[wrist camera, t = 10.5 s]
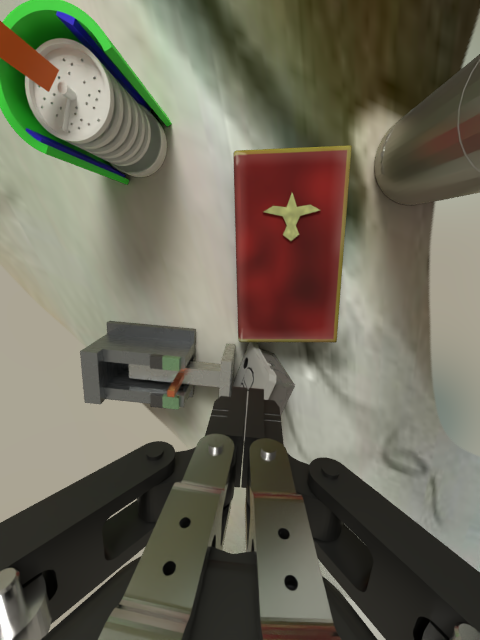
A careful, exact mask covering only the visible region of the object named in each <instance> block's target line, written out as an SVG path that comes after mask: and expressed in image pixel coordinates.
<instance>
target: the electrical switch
mask: <svg viewBox="0 0 480 640" xmlns="http://www.w3.org/2000/svg"><path fill="white" fill-rule="evenodd" d="M270 361H271V362H270ZM272 365H273V366H272ZM291 384H293V385H291ZM233 386H234V387H246V388H248V390H247V405H248V393H249V388H259V389H264V400H274V401H275V402H276V403H277V404H278V406H279V407H280V416H281V414H282V412H283V410H284V408H285V405H286V403H287V401H288V399H289V397H290V395H291V393H292V391H293V389H294V387H295V386H294V383H293V382H292V380H291V379H290V377H289V375H288V374H287V372H286V371H285V369H284V368H283V366H282V365H281V363H280V362H279V360H278V359H277V357H276V356H275V354H274V353H270V352H267V351H264V350H261V349H259V345H258V343H257V342H250V343H249V345H248V347H247V350H246V352H245V355H244V357H243V360H242V362H241V365H240V367H239V370H238V372H237V375H236V377H235V380H234V382H233V384H232V387H233ZM231 393H232V391H231ZM287 393H288V394H287ZM247 405H246V417H247ZM245 429H246V419H245ZM244 442H245V432H244Z"/></svg>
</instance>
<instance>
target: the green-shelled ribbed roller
mask: <svg viewBox="0 0 480 640" xmlns="http://www.w3.org/2000/svg"><path fill="white" fill-rule="evenodd" d="M0 108H1V110H2V112H3V114H4V116H5V118H6V119H7V121H8V122H9V124H10V125H11V127H12V128H13V129H14V130H15V131H16V133H17V134H18V135H19V136H20V137H21V138H22V139H23V140H24V141H26V142H27V143H28V144H29V145H31V146H32V147H34V148H35V149H37V150H39V151H41V152H43V153H45V154H47V155H50V156H53V157H55V158H58V159H61V160H63V161H66V162H69V163H71V164H74V165H76V166H79V167H82V168H84V169H87V170H90V171H92V172H95V173H98V174H100V175H103V176H106V177H108V178H111V179H113V180H116V181H119V182H121V183H124V184H127V185H128V183H129V180H128V179H126V178H125V176H126V175H124V174H123V173H121V172H120V171H122V172H124V173H126V174H128V175H131V176H134V177H146V176H149V175H151V174H153V173H155V172H156V171H157V170H158V169H159V168H160V167H161V165H162V164H163V162H164V160H165V157H166V152H167V140H166V136H165V133H164V130H163V128H162V126H161V125H160V123H159V122H158V121H157V119H156V118H155V117H154V116H153V115H152V114H151V112H150V110H151V109H153V110H154V112H155V113H156V114H157V115H158V116H159V118H160V119H161V120H162V121H163V122H164V124H165V125H166V126H167V127H168V126H169V125H171V122H170V120H169V118H168V117H167V115H166V114H165V113H164V111H163V110H162V109H161V107H160V106H159V105H158V103H157V102H156V101H155V99H154V98H153V97H152V96H151V94H150V93H149V92H148V90H147V89H146V88H145V86H144V85H143V84H142V82H141V81H140V80H139V78H138V77H137V76H136V74H135V73H134V72H133V70H132V69H131V68H130V66H129V65H128V64H127V62H126V61H125V60H124V59H123V57H122V56H121V55H120V53H119V52H118V51H117V49H116V48H115V47H114V45H113V44H112V43H111V41H110V40H109V39H108V37H107V36H106V35H105V33H104V32H103V31H102V29H101V28H100V27H99V26H98V24H97V23H96V22H95V21H94V20H93V19H92V18H91V17H90V16H89V15H87V14H86V13H85V12H84V11H82V10H81V9H79V8H78V7H76V6H74V5H72V4H70V3H68V2H65V1H62V0H30V1H27V2H25V3H23V4H21V5H19V6H18V7H16V8H15V9H14V10H13V11H12V12H10V13H9V15H8V16H7V17H6V18H5V19H4V21H3V22H1V21H0ZM110 163H111V164H112V165H113V166H114V167H115V168H116V169H115V168H113V167H112V165H111V164H110ZM117 169H118V170H117ZM119 170H120V171H119Z"/></svg>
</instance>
